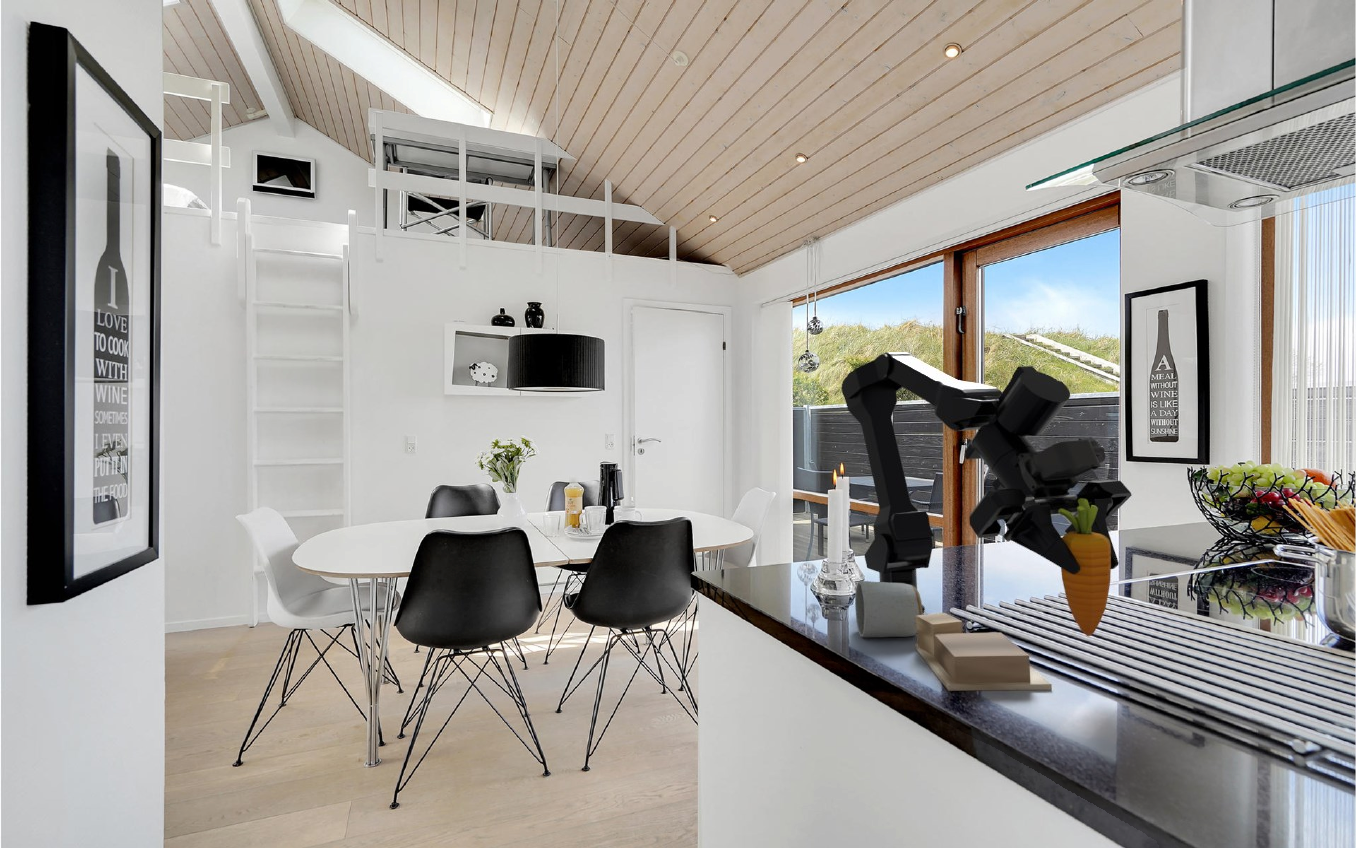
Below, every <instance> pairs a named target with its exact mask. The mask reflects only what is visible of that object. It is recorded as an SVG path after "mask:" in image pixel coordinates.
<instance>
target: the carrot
mask: <svg viewBox="0 0 1356 848" xmlns="http://www.w3.org/2000/svg"><path fill="white" fill-rule="evenodd" d="M1078 502H1079V507H1077V512H1078V515H1076V516H1075V517H1074V516H1073V515H1072V514H1071V513H1070V512H1069V511H1067V510H1065V509H1059V510H1058V513H1059V514H1061V515H1063V516H1065V517H1066V518H1067V519H1068V520H1069V521H1070V522H1071V523H1072V524H1073V526H1074V527H1075V529H1076V531H1074V532H1069V533H1065V534H1064V535H1063V536H1061V538H1062V539H1063V541H1064V542H1065V543H1066V545H1067V546H1068V548H1069V549H1070V551H1071V552H1072V554H1073V555H1074V557H1075V559H1076V561H1077V562H1078V564H1079V566H1080V568H1081V569H1080V571H1079V572H1078V573H1077V574H1071V573H1069V572H1068V571H1066V570H1064V569H1063V568H1061V567H1060V570H1061V571H1060V572H1061V580H1062V585H1063V589H1064V592H1065V597H1066V601H1067V603H1068V604H1067V605H1068V607H1069V610H1070V612H1071V615H1072V616H1073V619H1074V621H1075V622H1076V624H1077V625H1078V627H1079V629H1080V630H1081V632H1082V633H1083V634H1084V635H1085V636H1086V637H1091V636H1092V635H1093V634H1094V633H1095V631H1096V629H1097V627H1098V626H1099V624H1100V623H1101V621H1102V618H1103V616H1104V613H1105V610H1106V608H1107V603H1108V598H1109V592H1110V588H1111V587H1110V586H1111V577H1112V575H1111V571H1112V569H1111V545H1110V541H1109V539H1108V538H1107V537H1106V536H1104V535H1102V534H1098V533H1094V532H1091V527H1092V524H1093V522H1094V520H1095V517H1096V514H1097V511H1098V508H1097V507H1096V506H1095V505H1091V508H1090V507H1089V503H1088V500H1086V499H1083V498H1080V499H1079V500H1078ZM1061 515H1060V516H1061ZM1063 516H1062V517H1063ZM1065 517H1064V518H1065ZM1066 518H1065V519H1066ZM1067 519H1066V520H1067ZM1068 520H1067V521H1068Z"/></svg>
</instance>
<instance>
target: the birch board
mask: <svg viewBox="0 0 1356 848" xmlns="http://www.w3.org/2000/svg"><path fill="white" fill-rule="evenodd" d="M914 649H915V650H916V651H917V652H918V654H919V655H920V656H921V658H923V660H924V661H925V662H926V664H927V666H928V667H930V669H931V670H932V672H933V673H934V674H935V676H936V677H937V678H938V680H939V681H940V682H941V683H942V684H943V686H944V687H945V688H946V690H947V691H948V692H949V691H1030V690H1031V691H1036V690H1037V691H1047V690H1049V691H1050V690H1053V687H1052V686H1053V683H1051V682H1050V681H1049V680H1048V679H1046V678H1045V677H1044V676H1043V675H1041V674H1040V673H1039V672H1038V671H1036V670H1035V669H1034V668H1033V667H1032V666H1031V665H1030V682H1031V683H955V682H954V681H953V679H952V678H951V677H950V676H949V674H948V673H947V672H946V671H945V670H944V668H943V667H942V666H941V665H940V664H939V662H938V661H937V660H936V659H935V656H933V655H931V654H930V653H928V652H926V651H925V650H923V649H921V648H920V647H918V644H917V643H914Z"/></svg>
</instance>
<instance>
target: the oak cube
mask: <svg viewBox="0 0 1356 848" xmlns="http://www.w3.org/2000/svg"><path fill="white" fill-rule="evenodd" d="M916 624H917V635H916V641H917V644H918V647H920V648H921V649H923V650H925V651H926V652H928V653H930V654H931V655H933V656H935V649H934V634H952V633H964V632H963V621H962V620H960V619H959V618H956V617H954V616H952V615H950V614H947V613H946V612H937V613H928V614H923V615H917V616H916Z"/></svg>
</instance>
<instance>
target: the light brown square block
mask: <svg viewBox="0 0 1356 848" xmlns="http://www.w3.org/2000/svg"><path fill="white" fill-rule="evenodd" d="M934 649H935V659H936V660H937V661H938V662H939V664H940V665H941V666H942V667H943V668H944V670H945V671H946V672H947V673H948V674H949V676H950V677H951V678H952V679H953V681H954V682H955V683H1031V682H1030V666H1031V665H1030V663H1031V662H1030V655H1029V654H1028V653H1027V652H1026V651H1024V649H1022V648H1021V647H1019V646H1018V645H1017V644H1016V643H1014V642H1013V641H1012V640H1011V639H1009V638H1008V637H1007V636H1006V635H1005V634H1003V633H1002V632H971V633H970V632H968V633H967V632H963V633H952V634H934Z"/></svg>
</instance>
